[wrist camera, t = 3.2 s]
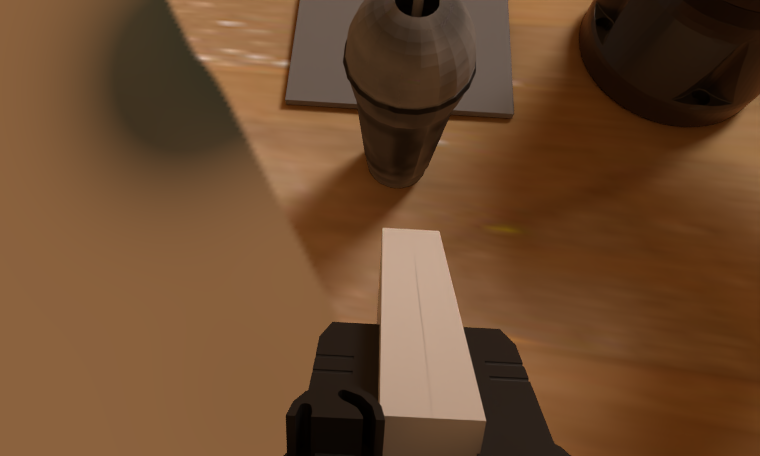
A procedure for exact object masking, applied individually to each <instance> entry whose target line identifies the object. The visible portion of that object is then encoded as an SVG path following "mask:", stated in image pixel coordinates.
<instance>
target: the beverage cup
mask: <svg viewBox="0 0 760 456" xmlns="http://www.w3.org/2000/svg"><path fill="white" fill-rule="evenodd" d="M343 64H344V68H345V72H346V75H347V79H348V80H349V82H350V84H351V87H352V90H353V93H354V96H355V99H356V102H357V108H358V114H359V120H360V126H361V132H362V138H363V144H364V150H365V155H366V159H367V162H368V167H369V171H370V172H371V174H372V175H373V177H374V178H375V179H376V180H377V181H379V182H380V183H381V184H383V185H386V186H388V187H393V188H403V187H408V186H410V185H412V184H414V183H416V182H417V181H418V180H419V179H420V178H421V177H422V176H423V174H424V171H425V169H426V168H427V167H428V165H429V162H430V160H431V158H432V156H433V153H434V151H435V149H436V146H437V144H438V142H439V140H440V137H441V135H442V133H443V130H444V128H445V126H446V124H447V121H448V119H449V117H450V114H451V112H452V110H453V109H454V108H455V107H456V106H457V105H458V103H459V102H460V100H461V99H462V97H463V95H464V93H465V92H466V91H467V90H468V89H469V88H470V85H471V83H472V81H473V78H474V76H475V73H476V32H475V28H474V25H473V22H472V20H471V17H470V15H469V12H468V10H467V8H466V6H465V5H464V4H463V3H462V2H461V0H364V1H363V2H362V4H361V5H360V7H359V9H358V11H357V12H356V14H355V16H354V18H353V20H352V22H351V24H350V27H349V30H348V36H347V40H346V43H345V49H344V56H343Z"/></svg>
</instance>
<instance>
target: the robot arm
mask: <svg viewBox="0 0 760 456" xmlns="http://www.w3.org/2000/svg"><path fill="white" fill-rule="evenodd" d="M579 44H580V50H581V55H582V58H583V61H584V63H585V65H586V67H587V69H588V71H589V73H590V75H591V76H592V77H593V79H594V80H595V82H596V83H597V84H598V85H599V86H600V88H601V89H602V90H603V91H604V92H605V93H606V94H607V95H609V96H610V97H611V98H612V99H613V100H615V101H616V102H617V103H618V104H620V105H621V106H623V107H624V108H626V109H628V110H630V111H631V112H633V113H635V114H637V115H639V116H642V117H644V118H646V119H649V120H652V121H655V122H658V123H662V124H667V125H672V126H681V127H698V126H706V125H711V124H715V123H718V122H721V121H724V120H726V119H728V118H730V117H732V116H733V115H735V114H736V113H738V112H739V111H740V110H741V109H743V108H744V107H745V106H746V105H748V104H749V103H750V102H751V101H752V100H754V99H755V98H756V97H757V96H758V95H759V94H760V0H593V2H592V4H591V5H590V7H589V9H588V11H587V13H586V14H585V16H584V18H583V21H582V24H581V27H580V34H579ZM286 434H287V453H286V454H285V455H284V456H571V455H569V454H568V453H567V452H566V451H565V450H564V449H562V448H561V447H560V446H558V445H556V444H555V443H554V441H553V439H552V437H551V434H550V432H549V429H548V426H547V424H546V421H545V419H544V416H543V414H542V411H541V409H540V406H539V404H538V401H537V398H536V396H535V393H534V391H533V388H532V386H531V383H530V382H529V381H528V376H527V373H526V370H525V368H524V367H523V366H522V360H521V358H520V355H519V353H518V350H517V348H516V345H515V344H514V343H513V342H512V341H511V340H510V339H509V338H508V337H507V336H506V335H505V334H504V333H503V332H502V331H501V330H500V329H487V328H468V327H463V325H462V321H461V317H460V313H459V309H458V305H457V301H456V297H455V292H454V288H453V284H452V280H451V276H450V272H449V268H448V264H447V260H446V256H445V252H444V248H443V244H442V240H441V236H440V232H439V231H432V230H414V229H396V228H383V230H382V246H381V262H380V278H379V294H378V310H377V324H361V323H343V322H332V323H331V324H330V325H329V326H328V328H327V329H326V330H325V331H324V332H323V333H322V334H321V336H320V337H319V342H318V347H317V352H316V358H315V362H314V366H313V373H312V376H311V380H310V385H309V390H308V391H305V392H304V393H303V394H302V395H301V396H299V397H298V398H297V399H296V400H294V401H293V403H292V405H291V407H290V408H289V410H288V412H287V414H286Z"/></svg>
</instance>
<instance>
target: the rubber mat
mask: <svg viewBox="0 0 760 456" xmlns="http://www.w3.org/2000/svg"><path fill="white" fill-rule="evenodd" d="M363 1H364V0H300V3H299V10H298V16H297V23H296V30H295V37H294V43H293V50H292V57H291V63H290V70H289V77H288V84H287V90H286V97H285V101H286V104H291V105H307V106H323V107H339V108H355V109H358V108H357V102H356V99H355V96H354V93H353V90H352V87H351V84H350V82H349V80H348V79H347V75H346V72H345V68H344V64H343V56H344V49H345V43H346V40H347V36H348V30H349V27H350V24H351V22H352V20H353V18H354V16H355V14H356V12H357V11H358V9H359V7H360V5H361V4H362V2H363ZM461 2H462V3H463V4H464V5H465V6H466V8H467V10H468V12H469V15H470V17H471V20H472V22H473V25H474V28H475V32H476V73H475V76H474V78H473V81H472V83H471V85H470V88H469V89H468V90H467V91H466V92H465V93H464V95H463V97H462V99H461V100H460V102H459V103H458V105H457V106H456V107H455V108H454V109H453V110H452V112H451V115H467V116H483V117H498V118H512V117H513V115H514V104H513V86H512V68H511V49H510V31H509V13H508V0H461Z"/></svg>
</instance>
